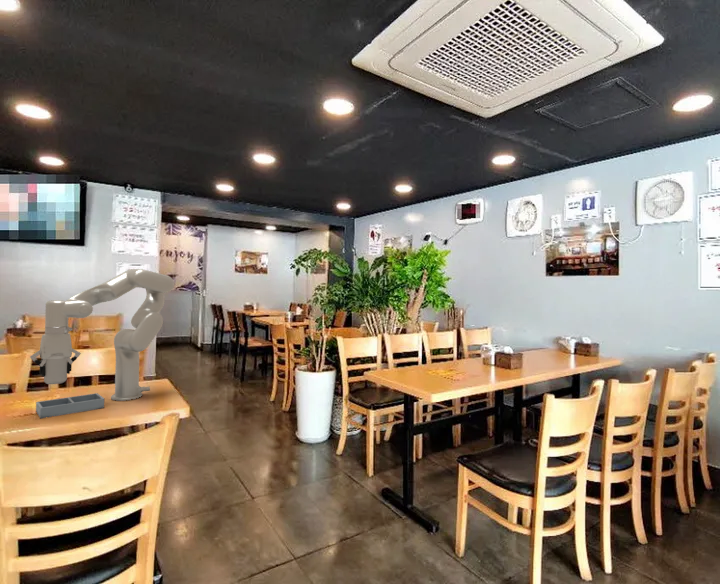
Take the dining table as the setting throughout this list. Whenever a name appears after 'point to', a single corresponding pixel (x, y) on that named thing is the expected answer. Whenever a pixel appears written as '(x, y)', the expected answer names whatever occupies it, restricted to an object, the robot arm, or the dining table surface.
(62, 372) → the can
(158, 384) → the dining table surface
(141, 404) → the dining table surface
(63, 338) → the robot arm
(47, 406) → the tray
